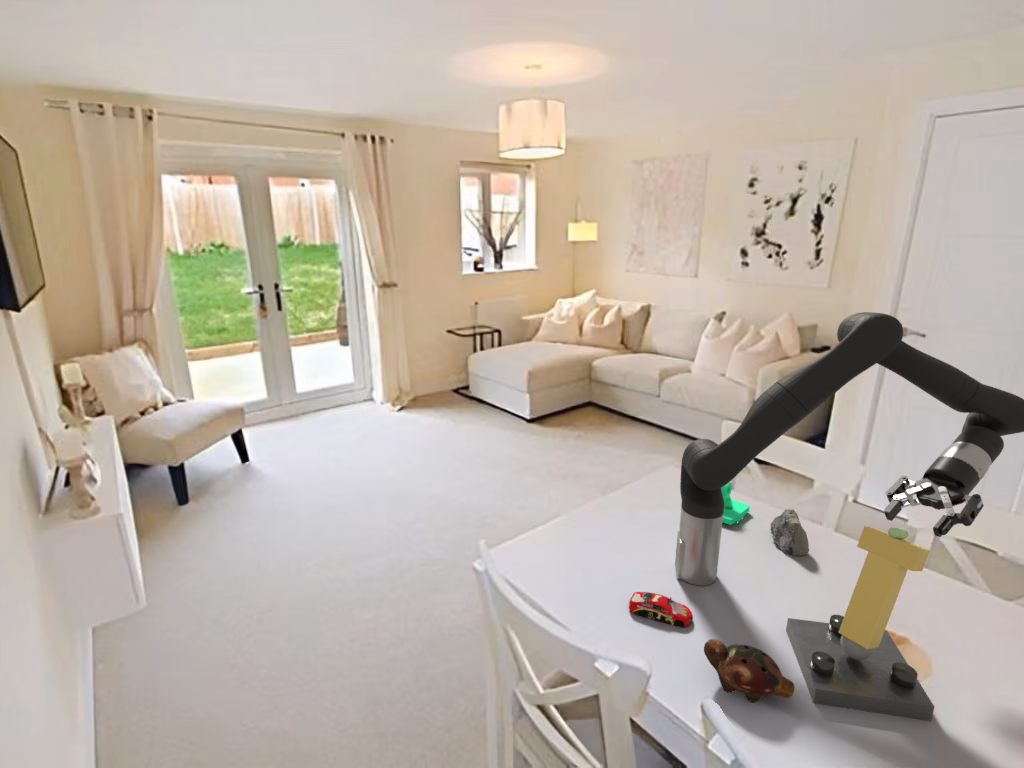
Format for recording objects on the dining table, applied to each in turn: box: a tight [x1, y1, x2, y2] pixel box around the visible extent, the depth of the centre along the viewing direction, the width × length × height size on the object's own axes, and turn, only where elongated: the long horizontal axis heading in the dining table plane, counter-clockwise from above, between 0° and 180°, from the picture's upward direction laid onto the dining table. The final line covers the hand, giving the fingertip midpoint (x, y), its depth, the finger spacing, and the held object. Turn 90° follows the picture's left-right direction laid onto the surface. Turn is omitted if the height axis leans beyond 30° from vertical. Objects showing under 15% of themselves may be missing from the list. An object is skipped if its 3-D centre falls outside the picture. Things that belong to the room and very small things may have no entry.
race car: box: [628, 591, 694, 629], centre depth 116 cm, size 13×5×4 cm, turn 65°
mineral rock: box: [770, 508, 810, 557], centre depth 141 cm, size 13×11×10 cm
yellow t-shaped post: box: [838, 525, 931, 660], centre depth 99 cm, size 5×9×25 cm, turn 33°
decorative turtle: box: [703, 638, 795, 704], centre depth 97 cm, size 10×15×8 cm, turn 68°
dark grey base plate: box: [785, 614, 935, 722], centre depth 100 cm, size 18×18×5 cm
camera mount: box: [721, 481, 751, 526], centre depth 154 cm, size 12×8×10 cm, turn 133°
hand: (911, 525), depth 102 cm, fingers open, 8 cm apart
